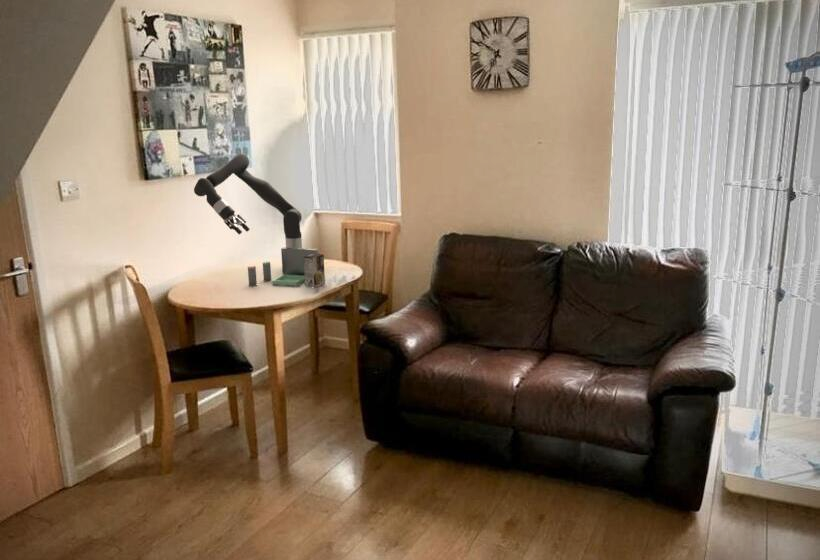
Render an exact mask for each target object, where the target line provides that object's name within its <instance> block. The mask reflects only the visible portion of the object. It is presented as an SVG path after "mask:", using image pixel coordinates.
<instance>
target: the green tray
mask: <svg viewBox="0 0 820 560" xmlns="http://www.w3.org/2000/svg"><path fill="white" fill-rule="evenodd" d="M271 281H272V286H278V285H285V286H284V287H294V286H297V287H298V285H299V286H301V284H303V283H304V284H305V276H302V275H284V274H283V273H282V274H281V275H280V276H278V277H276V278H274V279H271Z"/></svg>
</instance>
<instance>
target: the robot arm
mask: <svg viewBox="0 0 820 560" xmlns="http://www.w3.org/2000/svg"><path fill="white" fill-rule="evenodd" d="M249 166H250V159H249V157H248V156H247V155H246V154H244V153H238V154H236V155H234V157H233V158H232V159H231V160H230V161H228V162H227V163H226V164H225V165H223V166H221V167H219V168H218V169H216V170H215V171H214V172H212V173H210V174H208V175H207V176H206V178H204V177H201V178H199V179H198V180H197V182H196V184H195V185H194V188H193V193H194V194H195V195H196V196H198V197H205V196H206V202H207V204H208V205H209V206H210V207H211V208H212V209H213V210H214V212H215V213H216V214H217V215H218V216H219V217H220V218H221V219H222V220H223V223H225V225H226V226H227V228H228V229H230V230H233V231H235V232H236V234H238V235H241V234H242V233H243V231H242V230H241V229H240V228H239V226H240V227H242V229H244V231H245V232H246V233H247V232H249V231H250V228H249V227H248V225H247V224H246V223H247V221H246V220H245V219H244V218H243V217H242V216H241V215H240V214H235V213H236V212H235V210H234V208H233V207H231V206H230V205H229V203H227V202H226V200H224V199H223V198H222V197H221V195H219V194H218V193H217V190H216V189H215V188H216V187H218V186H219V185H221V184H223V183H224V182H225V181H226V180H228V179H229V177H231V176H232V175H233V174H234V175H235V176H236V177H237V178H238V179H240V180H241V181H242V182H244V183H245V184H246V185H247V186H248V187H249V188H251V189H252V190H253V191H254V192H255V194H257V196H259V198H261V200H262V201H264V202H265V203H267V204H268V205H270V206H272V207H273V208H274V209H276V210H278V212H279V213H280V214H282V216H283V218H282V219H283V221H282V222H283V233H284V235H285V247H286V248H303V242H302V240H303V239H302V237H303V236H302V232H301V227H300V226H301V225H300V223H301V221H302V214H301V211H300V210H299V209H297V208H296V207H294V206H293V205H292V204H291V203H289V201H287V200H286V199H285V198H284V197H283V195H282V194H281V193H280V192H279V191H278V190H276V188H275V187H273V185H272V184H271V183H270V182H268V181H267V180H265V179H262V178H258V177H256V176H254V175H252V174H251V173H250V172H249V171H248V170H247V169H248V168H249Z"/></svg>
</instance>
